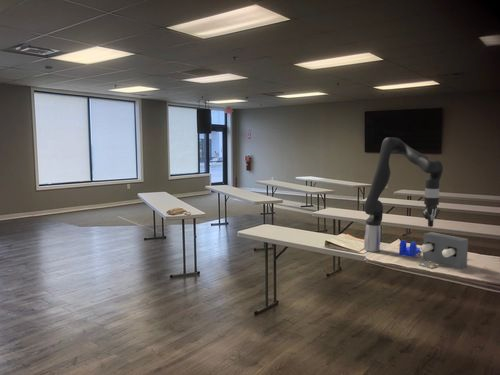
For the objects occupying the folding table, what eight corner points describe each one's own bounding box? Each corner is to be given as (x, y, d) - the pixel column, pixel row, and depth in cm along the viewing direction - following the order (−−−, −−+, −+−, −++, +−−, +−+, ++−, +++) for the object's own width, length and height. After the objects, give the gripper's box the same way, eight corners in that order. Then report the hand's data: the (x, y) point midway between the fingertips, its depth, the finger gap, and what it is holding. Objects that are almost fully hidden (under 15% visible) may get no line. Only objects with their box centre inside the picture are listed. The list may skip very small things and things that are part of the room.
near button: (449, 258, 215) (449, 250, 214) (441, 256, 219) (442, 248, 218) (457, 255, 220) (458, 248, 219) (449, 254, 223) (450, 246, 223)
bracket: (412, 257, 241) (413, 243, 240) (399, 255, 246) (399, 241, 245) (421, 251, 255) (422, 237, 254) (408, 249, 260) (409, 235, 259)
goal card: (431, 268, 218) (431, 267, 218) (418, 265, 225) (418, 264, 225) (437, 267, 221) (437, 265, 221) (424, 263, 228) (424, 262, 228)
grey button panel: (459, 269, 217) (460, 241, 216) (422, 259, 235) (423, 233, 234) (466, 266, 222) (468, 239, 220) (430, 257, 240) (431, 232, 238)
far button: (427, 252, 226) (427, 245, 225) (420, 251, 229) (420, 243, 229) (435, 250, 230) (436, 243, 230) (428, 249, 234) (429, 241, 233)
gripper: (433, 194, 225) (431, 223, 227) (418, 196, 218) (417, 226, 220) (445, 196, 218) (443, 226, 220) (430, 198, 212) (429, 229, 214)
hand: (430, 226), depth 220 cm, fingers closed
